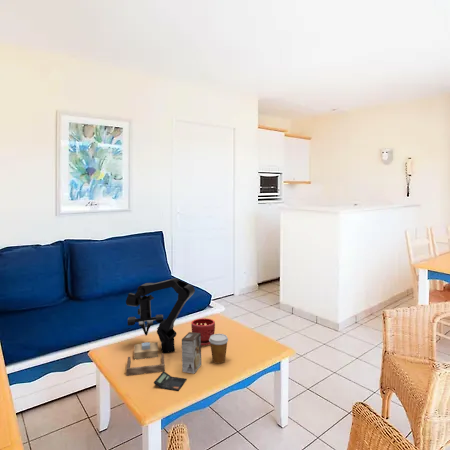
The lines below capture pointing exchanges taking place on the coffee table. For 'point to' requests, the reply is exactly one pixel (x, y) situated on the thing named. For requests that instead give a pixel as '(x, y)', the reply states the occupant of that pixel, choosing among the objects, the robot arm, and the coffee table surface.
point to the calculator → (169, 382)
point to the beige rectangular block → (145, 351)
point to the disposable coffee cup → (218, 347)
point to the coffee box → (191, 352)
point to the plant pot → (204, 329)
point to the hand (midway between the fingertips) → (146, 335)
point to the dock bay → (145, 368)
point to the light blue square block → (145, 345)
